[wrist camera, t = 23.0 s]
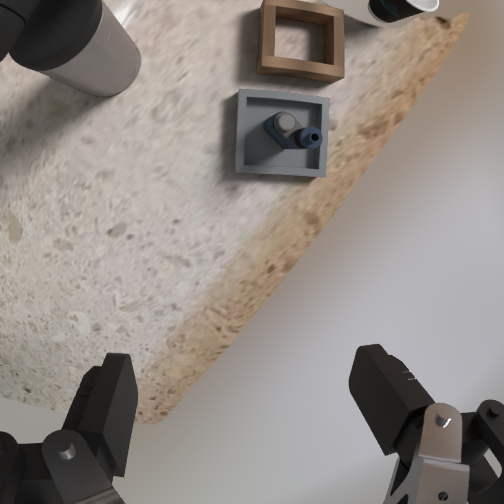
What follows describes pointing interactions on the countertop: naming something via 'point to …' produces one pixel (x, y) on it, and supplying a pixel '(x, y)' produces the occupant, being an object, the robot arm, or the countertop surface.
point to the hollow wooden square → (287, 7)
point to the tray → (265, 147)
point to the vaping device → (292, 132)
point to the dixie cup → (399, 8)
